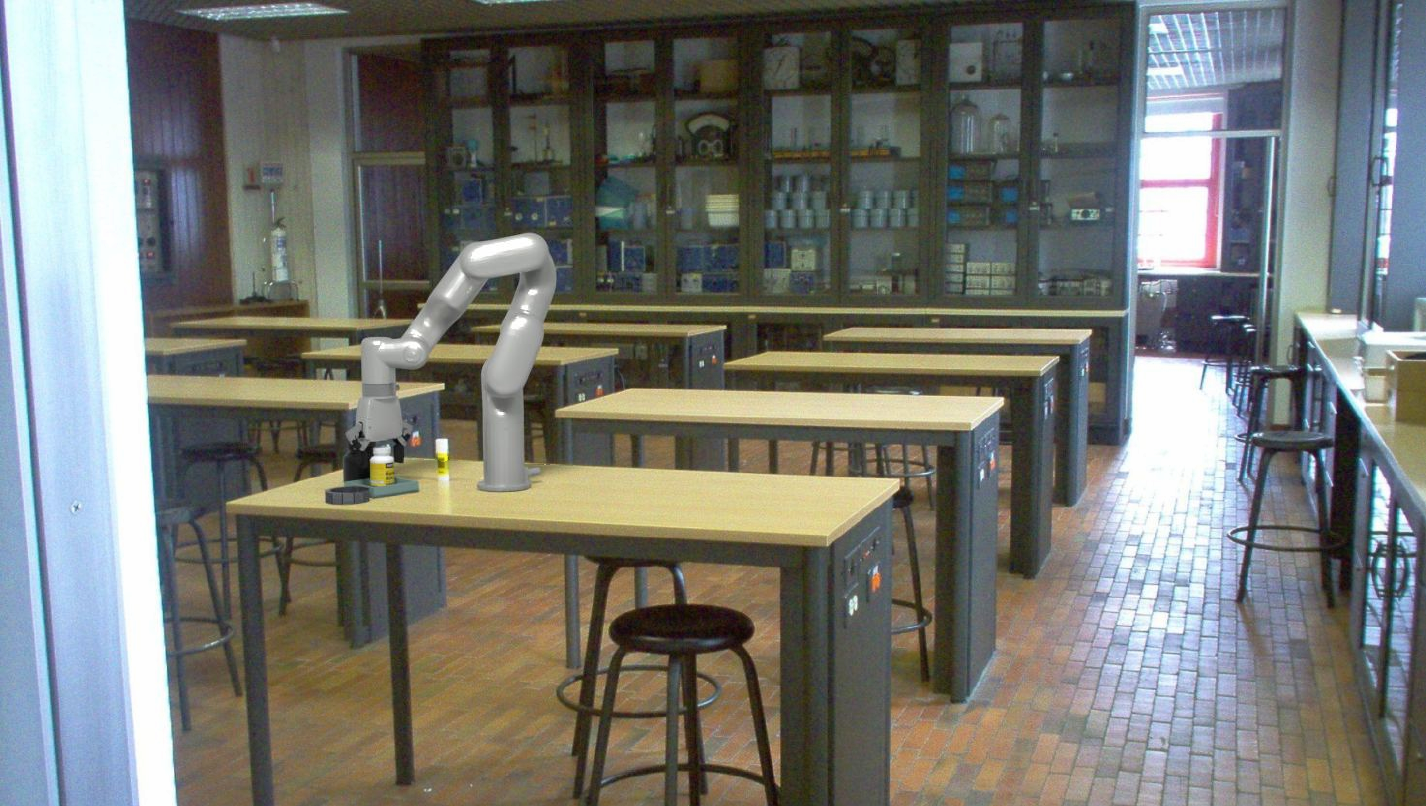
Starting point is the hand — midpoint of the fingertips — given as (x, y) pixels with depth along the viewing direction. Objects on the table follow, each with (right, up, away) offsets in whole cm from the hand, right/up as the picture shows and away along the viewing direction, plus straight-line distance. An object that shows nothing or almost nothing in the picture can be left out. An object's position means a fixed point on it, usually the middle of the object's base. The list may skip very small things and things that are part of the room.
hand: (380, 465), depth 304 cm
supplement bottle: (0, -6, +1) cm, 6 cm away
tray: (0, -6, +1) cm, 6 cm away
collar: (-5, -8, -10) cm, 14 cm away
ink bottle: (-8, -5, +13) cm, 16 cm away
